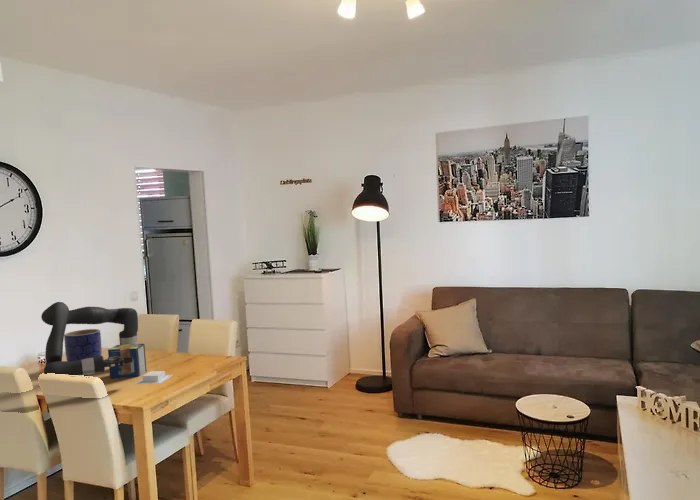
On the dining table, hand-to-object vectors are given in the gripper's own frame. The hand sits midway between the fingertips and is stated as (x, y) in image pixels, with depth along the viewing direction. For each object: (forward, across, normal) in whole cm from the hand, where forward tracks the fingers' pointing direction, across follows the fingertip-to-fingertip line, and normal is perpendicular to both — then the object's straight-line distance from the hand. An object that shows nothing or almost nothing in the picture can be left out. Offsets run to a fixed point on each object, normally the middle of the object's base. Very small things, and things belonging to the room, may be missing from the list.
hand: (131, 358), depth 255 cm
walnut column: (-3, 0, +7) cm, 7 cm away
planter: (-18, +58, +14) cm, 63 cm away
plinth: (+10, +5, +14) cm, 18 cm away
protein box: (0, +24, +14) cm, 28 cm away
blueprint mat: (+10, +5, +14) cm, 18 cm away
